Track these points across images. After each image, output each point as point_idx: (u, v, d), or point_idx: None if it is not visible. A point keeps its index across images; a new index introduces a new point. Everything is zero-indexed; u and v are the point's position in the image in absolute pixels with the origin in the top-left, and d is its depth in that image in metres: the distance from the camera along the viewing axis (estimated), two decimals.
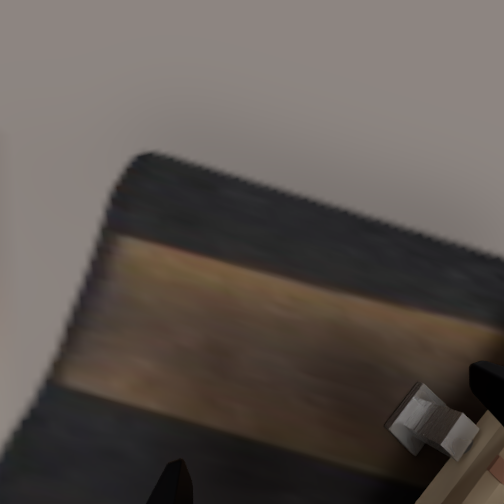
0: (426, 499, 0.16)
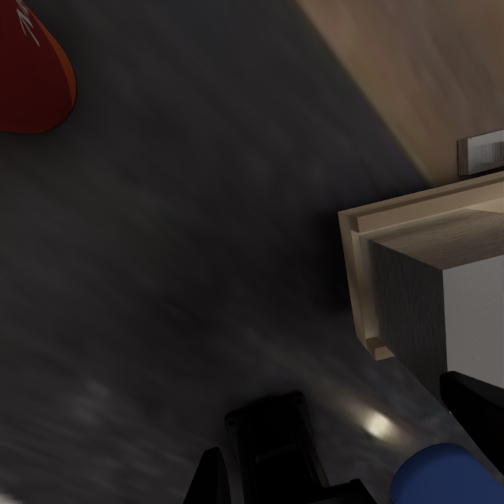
0: (495, 175, 0.16)
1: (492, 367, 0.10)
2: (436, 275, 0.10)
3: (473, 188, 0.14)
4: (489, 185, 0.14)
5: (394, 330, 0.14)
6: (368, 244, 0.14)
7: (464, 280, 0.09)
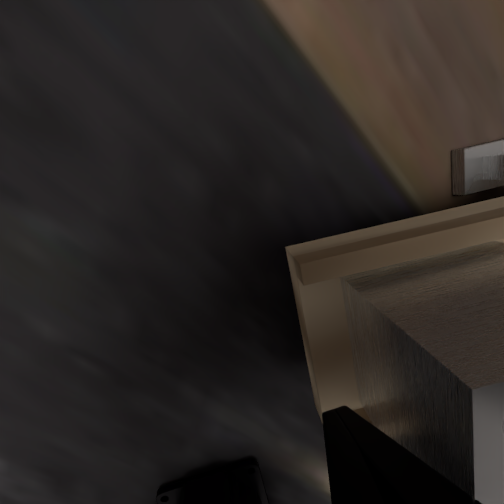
0: (500, 200, 0.12)
1: None
2: (458, 391, 0.05)
3: (469, 223, 0.10)
4: (492, 219, 0.10)
5: (388, 421, 0.09)
6: (351, 292, 0.10)
7: None
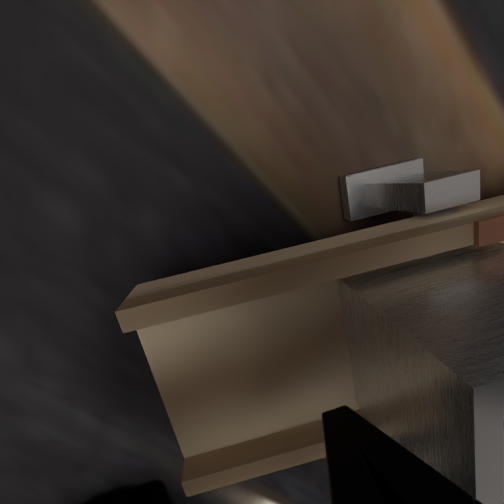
0: (352, 235, 0.11)
1: None
2: (458, 389, 0.05)
3: (294, 266, 0.09)
4: (317, 262, 0.09)
5: (386, 421, 0.09)
6: (348, 293, 0.10)
7: None
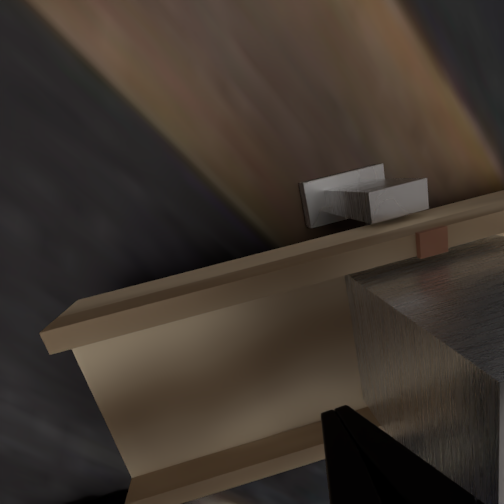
0: (300, 246, 0.11)
1: None
2: (482, 384, 0.05)
3: (230, 281, 0.09)
4: (253, 277, 0.09)
5: (396, 418, 0.09)
6: (357, 288, 0.10)
7: None
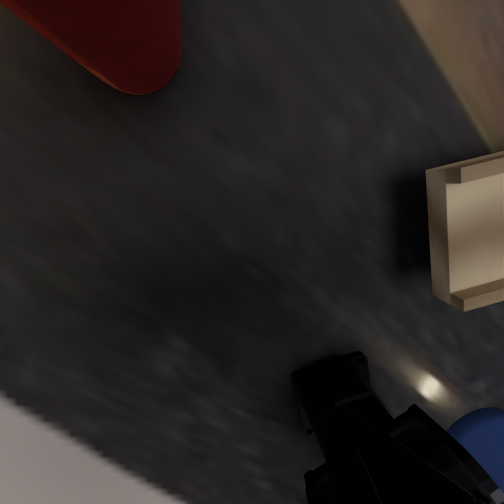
0: None
1: None
2: None
3: None
4: None
5: None
6: None
7: None
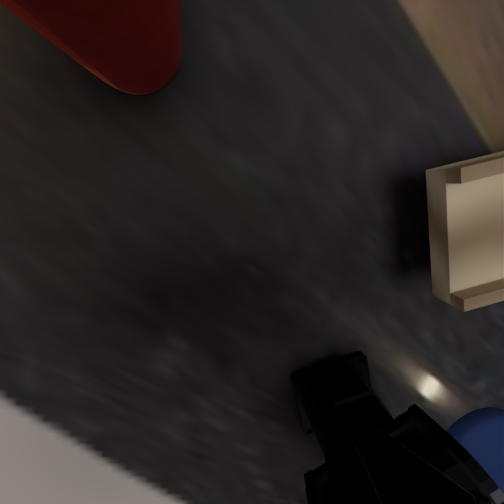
0: None
1: None
2: None
3: None
4: None
5: None
6: None
7: None
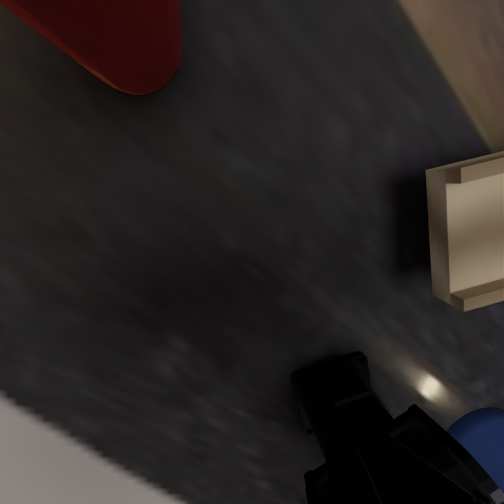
0: None
1: None
2: None
3: None
4: None
5: None
6: None
7: None
